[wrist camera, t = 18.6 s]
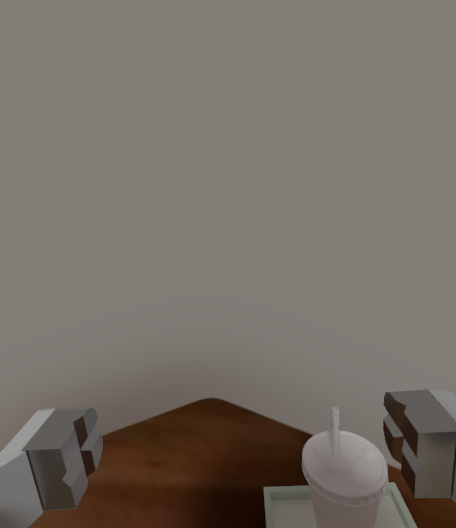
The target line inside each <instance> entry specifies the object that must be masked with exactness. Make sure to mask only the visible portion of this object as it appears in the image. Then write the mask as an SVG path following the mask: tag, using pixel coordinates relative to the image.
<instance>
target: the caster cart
mask: <svg viewBox="0 0 456 528" xmlns="http://www.w3.org/2000/svg"><path fill="white" fill-rule="evenodd" d="M264 501H265V515H266V528H317V525H316V519H315V514H314V509H313V503H312V498H311V493H310V488H309V485H307V486H278V487H264ZM374 528H417V526H416V524H415V522H414V520H413V518H412V516H411V514H410V512H409V510H408V508H407V506H406V504H405V502H404V500H403V498H402V496H401V494H400V492H399V490H398V488H397V486H396V484H395V482H393V483H388V487H387V490H386V492H385V494H384V495H383V496H382V497H381V499H380V503H379V507H378V511H377V516H376V521H375V525H374Z"/></svg>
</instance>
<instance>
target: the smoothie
mask: <svg viewBox="0 0 456 528" xmlns="http://www.w3.org/2000/svg"><path fill="white" fill-rule="evenodd" d="M339 428H340V426H339V408H338V407H332V430H329V431H324V432H320V433H318V434H316V435H314V436H312V437H311V438H310V439H309V440H308V441H307V442H306V444H305V446H304V448H303V452H302V470H303V473H304V476H305V479H306V480H307V482H308V483H309V488H310V493H311V498H312V503H313V509H314V514H315V519H316V525H317V528H374V525H375V521H376V516H377V511H378V507H379V503H380V499H381V497H382V496H383V495H384V494H385V492H386V490H387V487H388V469H387V464H386V461H385V459H384V457H383V455H382V454H381V452H380V451H379V450H378V449H377V448H376V447H375V446H374V445H373V444H372V443H370V441H368V440H367V439H365V438H363V437H361V436H359V435H357V434H354V433H351V432H347V431H342V430H339Z"/></svg>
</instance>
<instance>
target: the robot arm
mask: <svg viewBox="0 0 456 528" xmlns="http://www.w3.org/2000/svg"><path fill="white" fill-rule="evenodd" d="M384 406H385V408H386V410H387V411H388V415H387V416H386V417H385V418H384V420H383V422H384V423H383V424H384V427H383V429H384V435H385V440H386V444H387V446H388V449H389V451H390V453H391V455H392V457H393V458H394V459H395V460H396V461H398V462H399V463H401V464H402V465H401V474H402V476H403V477H404V479H405V481H406V483H407V485H408V487H409V488H410V490H411V492H412V494H413V496H414V497H415V498H452V500H454V501H455V502H456V397H455V396H454V395H453V394H452V393H451V392H450V391H449V390H447V389H445V388H435V389H424V390H415V391H399V392H386V393H385V396H384ZM97 420H98V417H97V413H96V410H95V409H94V408H92V407H77V408H50V409H41V410H38V411H37V412H36V413H35V414H34V415H33V416H32V418H31V419H30V420H29V421H28V422H27V423H26V424H25V426H24V427H23V428H22V429H21V430H20V431H19V432H18V433H17V434H16V436H15V437H14V438H13V439H12V440H11V441H10V442H9V443H8V444H7V446H6V447H5V448H4V449H3V450H2V451H1V452H0V528H28V527H29V526H30V525H31V524H32V523H33V522H34V521H35V520H36V519H37V518H38V517H39V516H40V515H41V514H42V513H43V511H45V510H60V509H76V508H77V506H78V504H79V502H80V500H81V498H82V496H83V494H84V492H85V490H86V488H87V486H88V482H87V477H88V476H89V475H90V474H91V473H92V472H94V471H95V470H96V468H97V466H98V464H99V462H100V459H101V454H102V450H103V440H102V435H101V432H99V430H98V429H97V428H96V427H95V424H96V422H97Z"/></svg>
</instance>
